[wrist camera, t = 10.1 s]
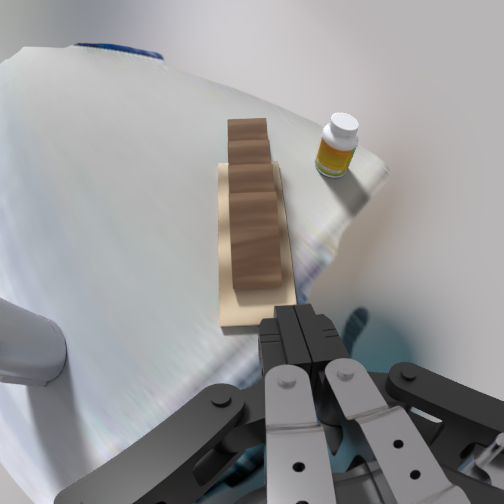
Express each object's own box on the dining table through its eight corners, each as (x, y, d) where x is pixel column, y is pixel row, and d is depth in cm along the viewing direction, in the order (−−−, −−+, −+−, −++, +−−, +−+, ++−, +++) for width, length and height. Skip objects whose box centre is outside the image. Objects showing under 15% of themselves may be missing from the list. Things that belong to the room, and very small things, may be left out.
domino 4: (282, 286, 32) (276, 191, 33) (232, 289, 32) (228, 193, 33) (280, 285, 34) (274, 194, 34) (233, 287, 34) (229, 196, 34)
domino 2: (274, 218, 36) (269, 139, 36) (230, 220, 36) (227, 141, 36) (273, 220, 38) (268, 144, 38) (231, 222, 37) (228, 145, 38)
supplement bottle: (346, 182, 42) (365, 138, 33) (312, 174, 42) (325, 128, 33) (346, 158, 44) (363, 114, 35) (315, 151, 44) (326, 105, 35)
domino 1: (271, 188, 38) (266, 118, 38) (229, 190, 38) (227, 119, 38) (270, 191, 39) (265, 123, 40) (230, 193, 39) (228, 124, 40)
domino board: (297, 322, 33) (298, 321, 32) (220, 326, 33) (220, 325, 32) (277, 164, 43) (277, 161, 42) (219, 167, 42) (218, 163, 42)
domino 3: (278, 250, 34) (272, 163, 35) (231, 253, 34) (227, 165, 35) (276, 251, 36) (271, 167, 36) (232, 253, 36) (228, 169, 36)
